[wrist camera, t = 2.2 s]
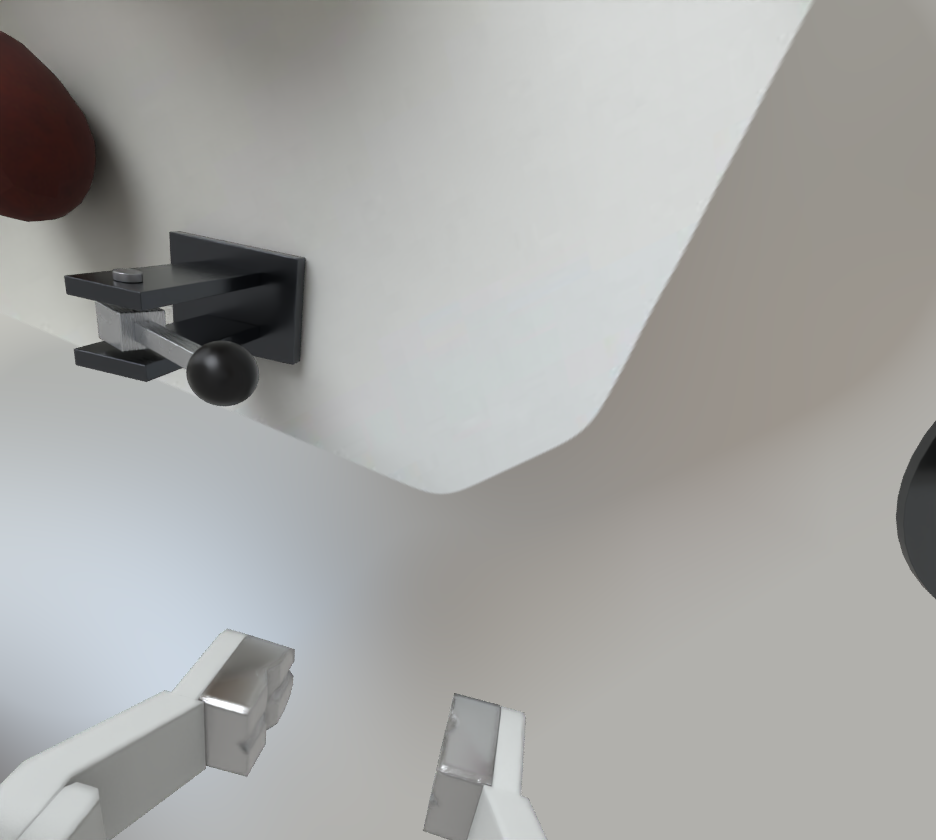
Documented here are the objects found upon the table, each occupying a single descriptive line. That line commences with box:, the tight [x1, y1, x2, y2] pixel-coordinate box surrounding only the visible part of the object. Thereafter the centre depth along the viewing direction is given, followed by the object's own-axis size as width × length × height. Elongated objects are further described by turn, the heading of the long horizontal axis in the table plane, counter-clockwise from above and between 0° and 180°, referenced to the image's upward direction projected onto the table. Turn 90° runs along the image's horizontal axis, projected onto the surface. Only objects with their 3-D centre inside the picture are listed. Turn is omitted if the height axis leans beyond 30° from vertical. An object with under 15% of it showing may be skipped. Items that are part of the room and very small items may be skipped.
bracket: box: [64, 231, 305, 382], centre depth 33 cm, size 10×8×13 cm
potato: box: [0, 31, 96, 222], centre depth 33 cm, size 9×12×9 cm
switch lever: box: [95, 301, 259, 406], centre depth 27 cm, size 12×3×3 cm, turn 80°
